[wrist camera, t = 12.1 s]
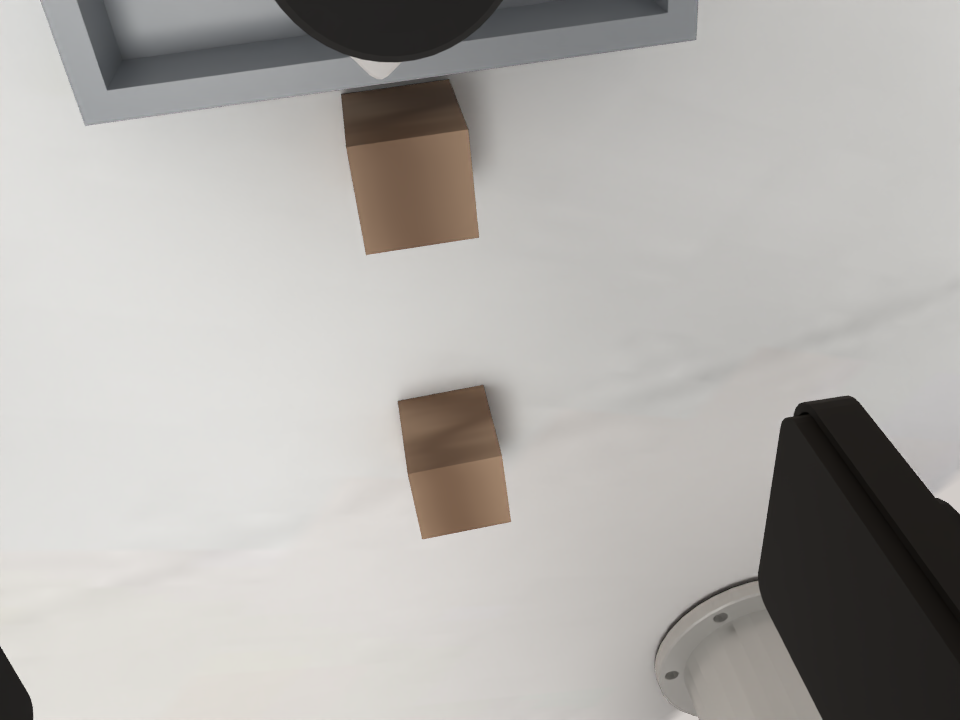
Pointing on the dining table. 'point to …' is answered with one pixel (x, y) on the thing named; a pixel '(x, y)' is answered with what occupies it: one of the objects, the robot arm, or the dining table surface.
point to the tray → (308, 49)
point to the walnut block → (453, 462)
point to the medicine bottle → (388, 27)
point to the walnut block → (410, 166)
